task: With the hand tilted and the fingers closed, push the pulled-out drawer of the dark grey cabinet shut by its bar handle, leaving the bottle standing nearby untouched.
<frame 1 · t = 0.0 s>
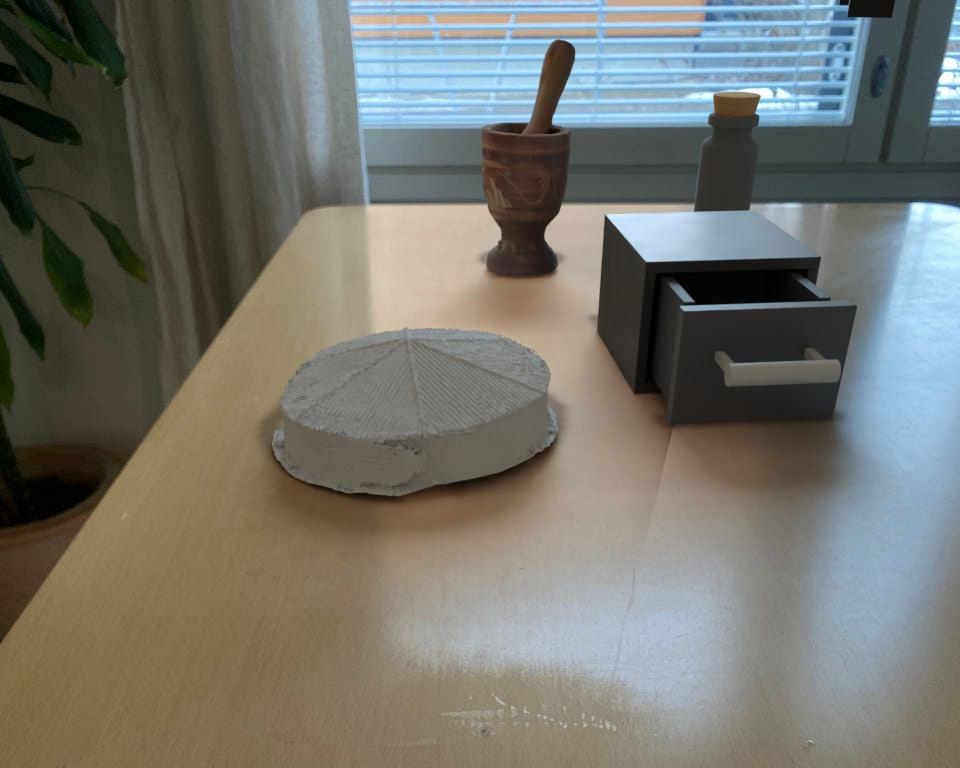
hand: (862, 11, 67), 24 cm above the table, tool pointing down, fingers open, 13 cm apart
drawer: (739, 344, 68), point 5 cm above the table, slide at 7.0 cm
grey round squat piece: (417, 437, 68), on the table
cabinet: (689, 357, 80), on the table
bottle: (716, 251, 107), on the table
mortar and pestle: (525, 266, 103), on the table
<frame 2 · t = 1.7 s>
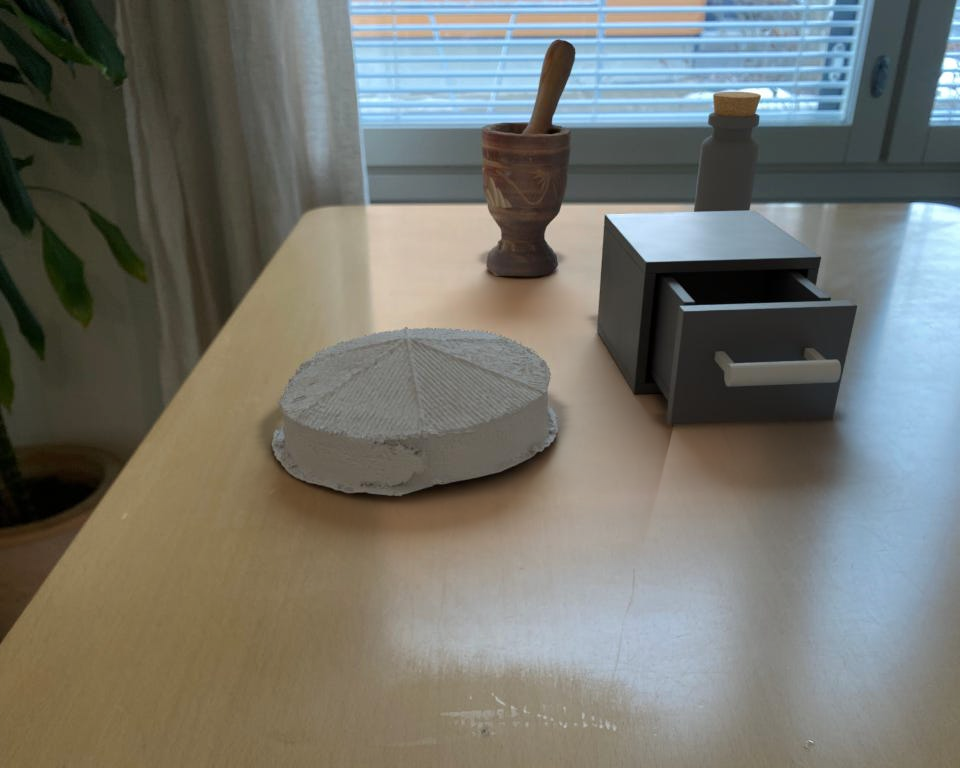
nothing on the table moved.
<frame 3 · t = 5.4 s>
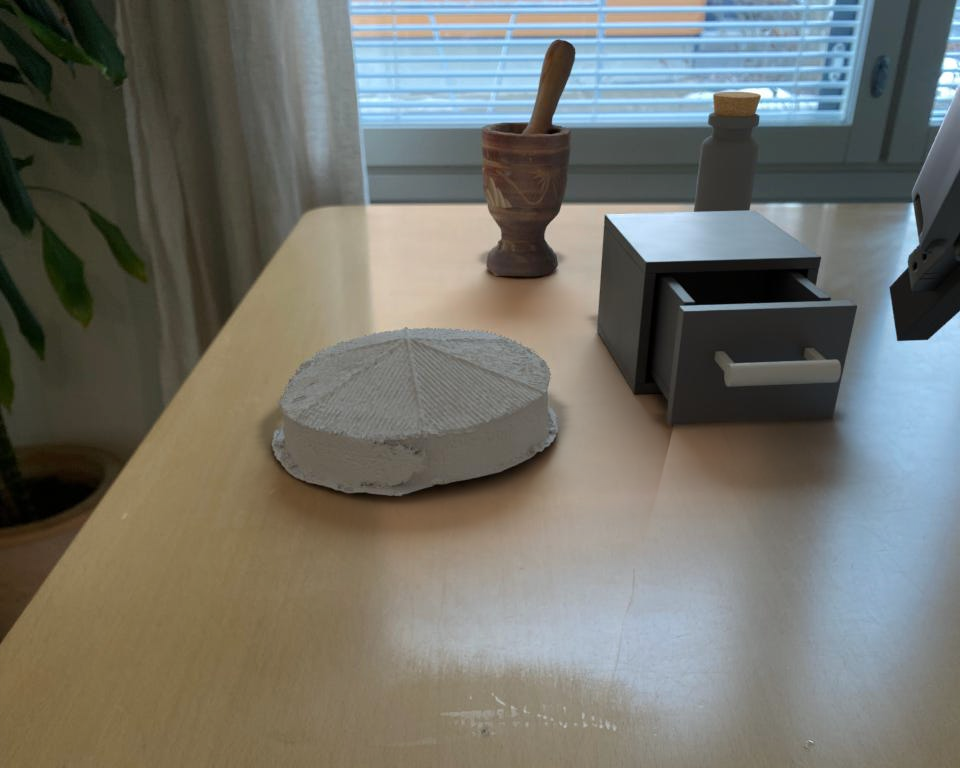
hand: (908, 313, 46), 14 cm above the table, tool tilted 45°, fingers closed
nothing on the table moved.
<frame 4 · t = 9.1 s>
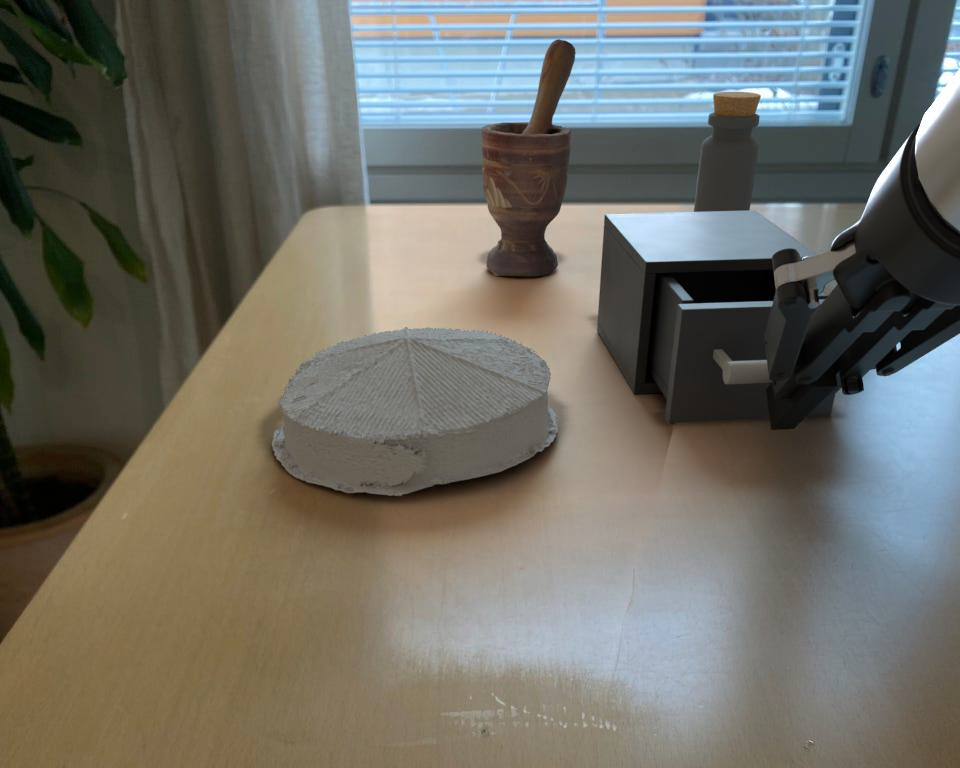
hand: (779, 409, 62), 4 cm above the table, tool tilted 45°, fingers closed
drawer: (738, 342, 68), point 5 cm above the table, slide at 6.6 cm, touching gripper
everything else where it was.
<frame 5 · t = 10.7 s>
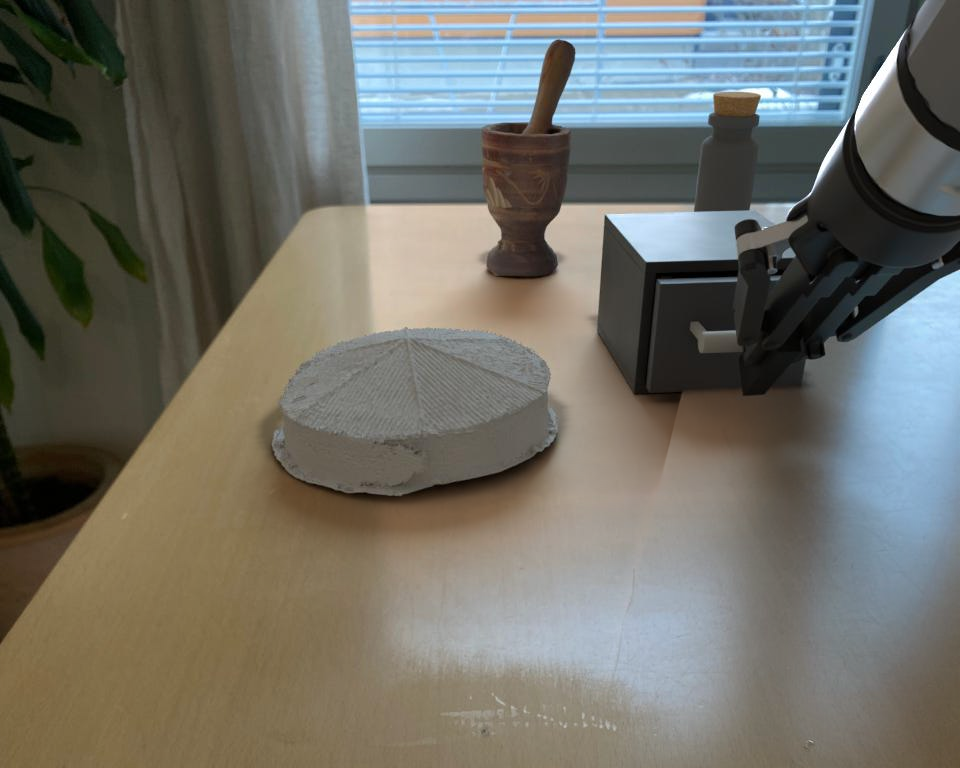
hand: (751, 376, 66), 4 cm above the table, tool tilted 45°, fingers closed
drawer: (714, 317, 73), point 5 cm above the table, slide at 0.9 cm, touching gripper
everything else where it was.
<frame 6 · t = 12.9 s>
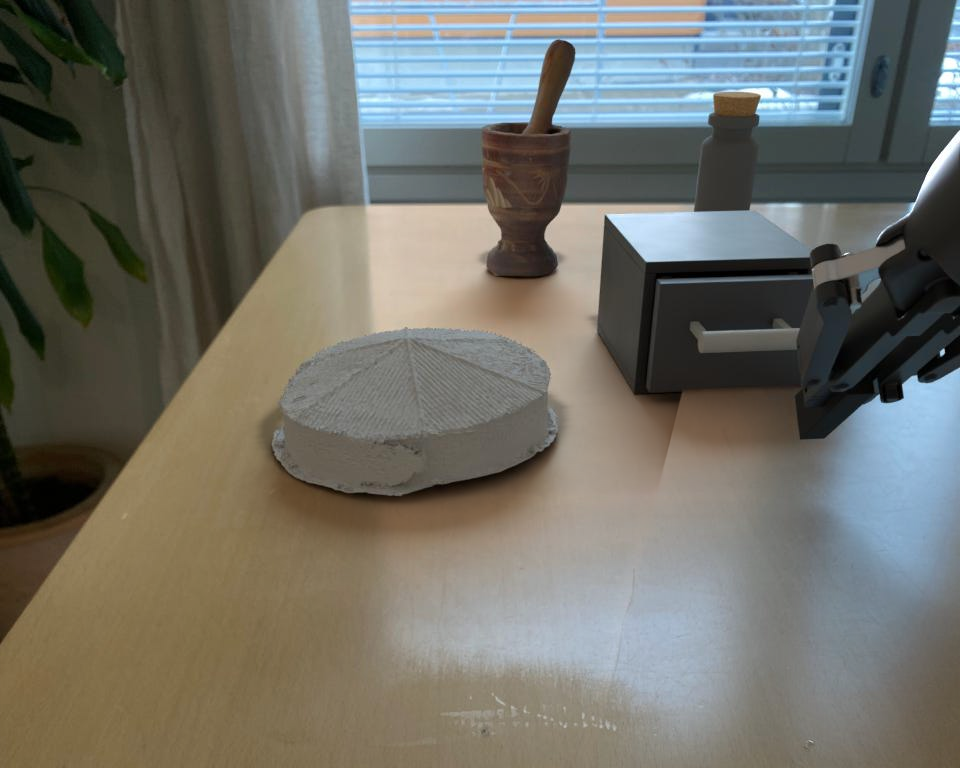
hand: (809, 417, 58), 5 cm above the table, tool tilted 45°, fingers closed
drawer: (714, 316, 73), point 5 cm above the table, slide at 0.9 cm
everything else where it was.
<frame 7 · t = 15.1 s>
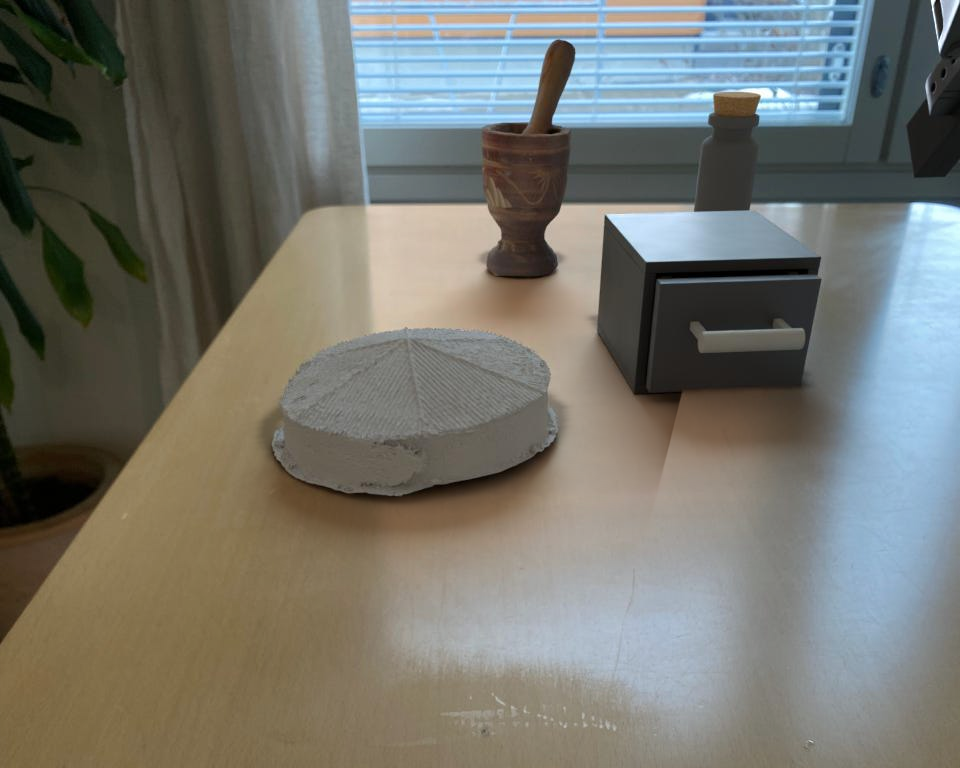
hand: (925, 150, 45), 20 cm above the table, tool tilted 45°, fingers closed
nothing on the table moved.
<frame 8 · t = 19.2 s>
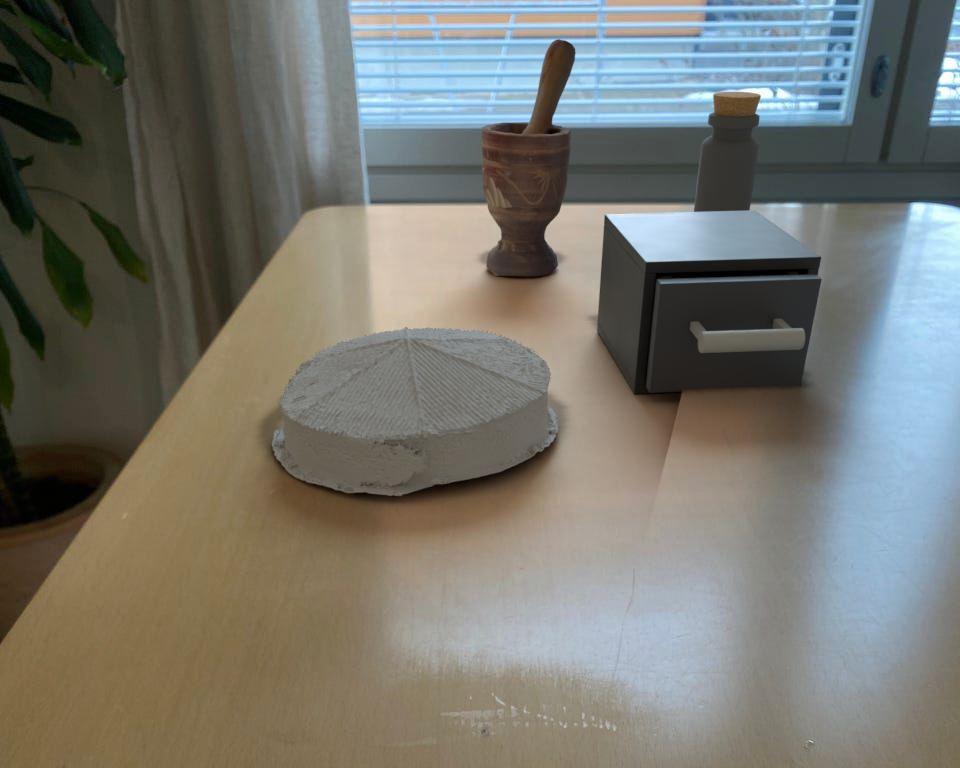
nothing on the table moved.
at the end: drawer slide at 0.9 cm; bottle moved 0.2 cm from its start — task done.
